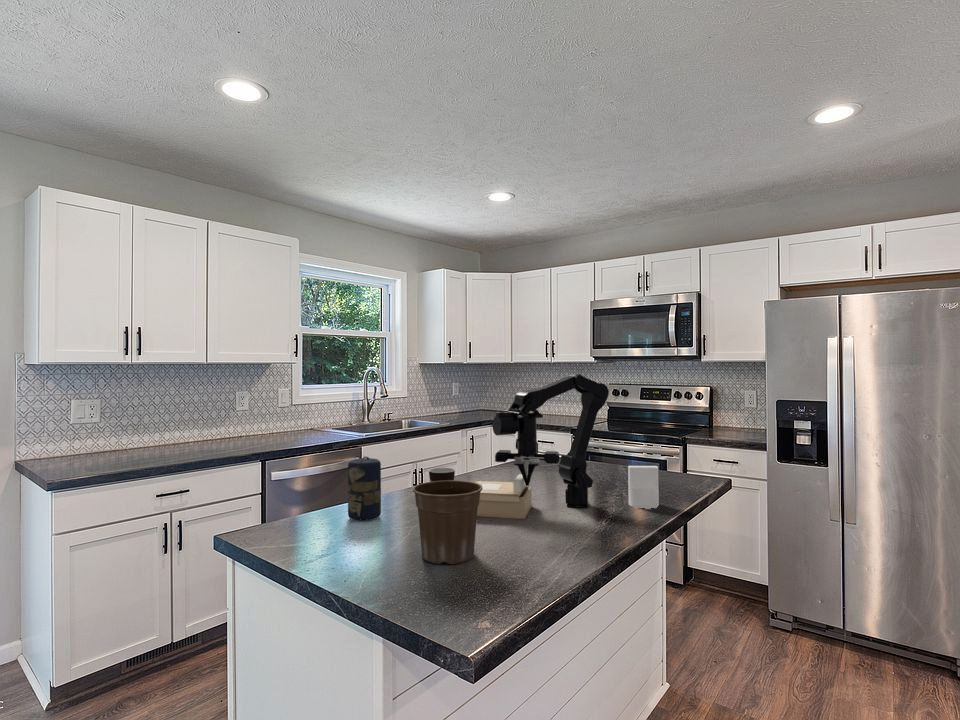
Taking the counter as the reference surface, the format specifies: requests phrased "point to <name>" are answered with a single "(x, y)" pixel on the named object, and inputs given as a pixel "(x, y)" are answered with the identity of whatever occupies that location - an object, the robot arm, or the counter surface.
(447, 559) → the plant pot
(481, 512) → the mailer box
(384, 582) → the counter surface
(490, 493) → the lid
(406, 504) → the counter surface
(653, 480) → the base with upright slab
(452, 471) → the coffee mug
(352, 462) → the canister
